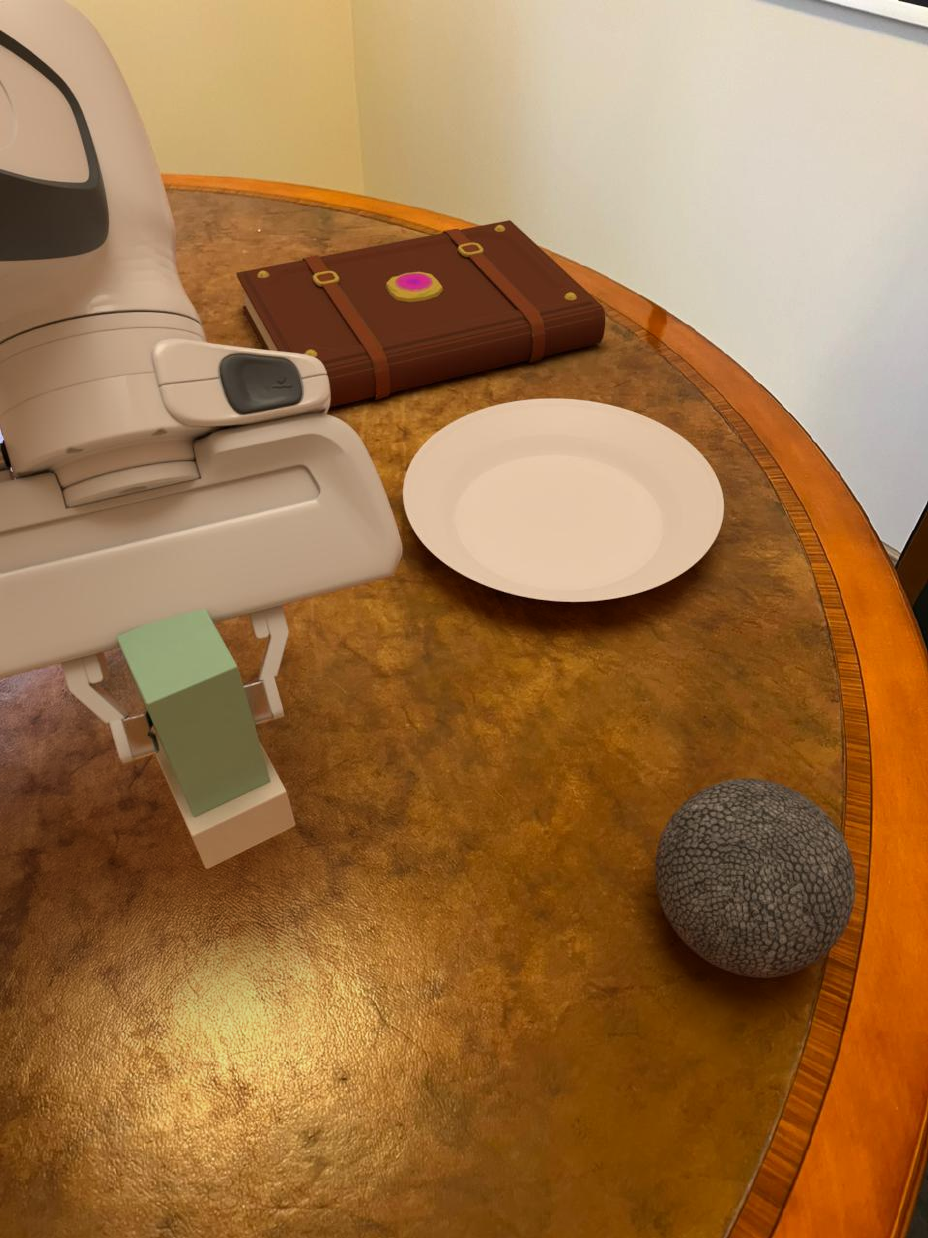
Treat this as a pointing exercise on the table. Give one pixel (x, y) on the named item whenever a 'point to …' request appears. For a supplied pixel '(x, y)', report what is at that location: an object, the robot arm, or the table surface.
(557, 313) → the book
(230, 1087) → the table surface
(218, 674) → the green block on base
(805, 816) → the decorative ball
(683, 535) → the white dinner plate
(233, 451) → the robot arm
